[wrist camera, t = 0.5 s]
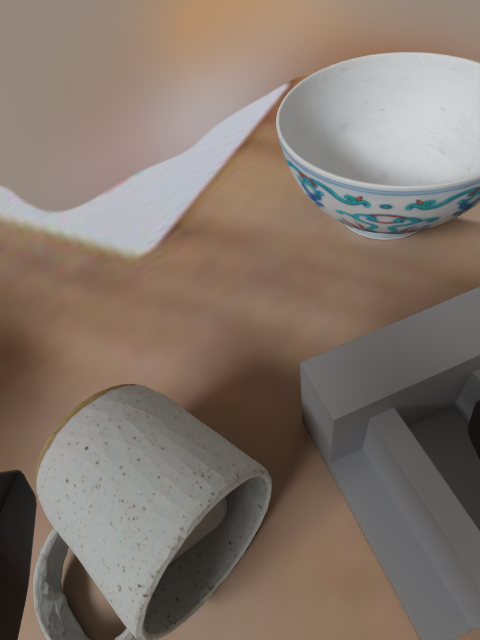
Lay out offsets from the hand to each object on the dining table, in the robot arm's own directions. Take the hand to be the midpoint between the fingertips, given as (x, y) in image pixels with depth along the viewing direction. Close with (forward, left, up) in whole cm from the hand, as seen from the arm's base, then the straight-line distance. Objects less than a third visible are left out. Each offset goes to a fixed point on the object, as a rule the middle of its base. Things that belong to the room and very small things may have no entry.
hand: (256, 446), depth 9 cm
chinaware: (+19, -17, -15) cm, 29 cm away
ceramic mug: (+4, +5, -15) cm, 16 cm away
